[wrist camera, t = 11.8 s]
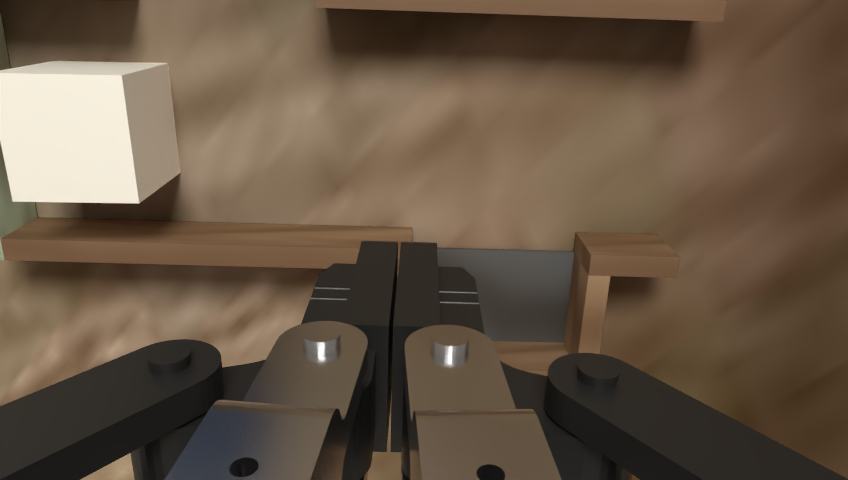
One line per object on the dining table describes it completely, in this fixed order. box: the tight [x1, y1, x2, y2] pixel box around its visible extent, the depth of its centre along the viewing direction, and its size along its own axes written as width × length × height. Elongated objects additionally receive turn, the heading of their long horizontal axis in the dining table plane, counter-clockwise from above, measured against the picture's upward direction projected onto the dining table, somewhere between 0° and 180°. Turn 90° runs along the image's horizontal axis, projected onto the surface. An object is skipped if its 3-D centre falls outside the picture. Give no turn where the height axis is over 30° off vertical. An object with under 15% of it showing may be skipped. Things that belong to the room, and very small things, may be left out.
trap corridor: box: [0, 0, 727, 376], centre depth 29 cm, size 24×31×3 cm
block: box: [0, 61, 180, 204], centre depth 28 cm, size 5×5×5 cm
